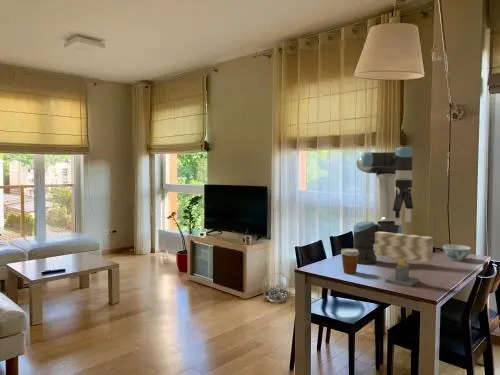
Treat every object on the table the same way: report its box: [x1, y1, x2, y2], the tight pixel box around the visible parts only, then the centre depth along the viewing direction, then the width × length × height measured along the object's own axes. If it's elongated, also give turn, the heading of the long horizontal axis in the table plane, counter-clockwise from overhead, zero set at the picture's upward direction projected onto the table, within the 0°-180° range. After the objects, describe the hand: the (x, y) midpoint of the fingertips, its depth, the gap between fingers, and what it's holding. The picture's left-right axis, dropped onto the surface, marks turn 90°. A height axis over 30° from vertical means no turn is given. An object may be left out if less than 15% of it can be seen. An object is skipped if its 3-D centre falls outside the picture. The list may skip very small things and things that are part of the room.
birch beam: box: [374, 231, 434, 263], centre depth 189 cm, size 26×5×11 cm, turn 49°
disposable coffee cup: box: [340, 248, 359, 275], centre depth 206 cm, size 10×10×12 cm
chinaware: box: [442, 243, 472, 262], centre depth 234 cm, size 15×15×8 cm
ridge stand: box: [384, 258, 420, 288], centre depth 189 cm, size 12×12×12 cm
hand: (403, 223), depth 188 cm, fingers open, 13 cm apart
